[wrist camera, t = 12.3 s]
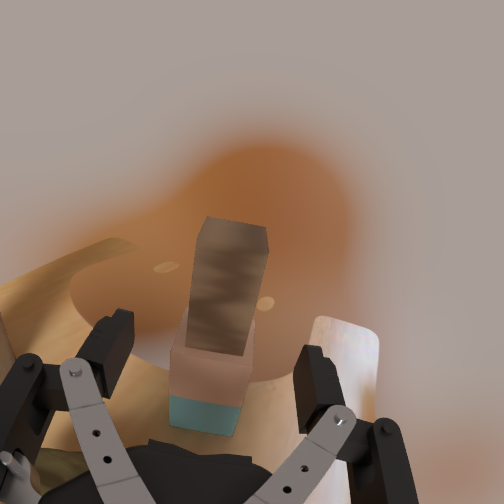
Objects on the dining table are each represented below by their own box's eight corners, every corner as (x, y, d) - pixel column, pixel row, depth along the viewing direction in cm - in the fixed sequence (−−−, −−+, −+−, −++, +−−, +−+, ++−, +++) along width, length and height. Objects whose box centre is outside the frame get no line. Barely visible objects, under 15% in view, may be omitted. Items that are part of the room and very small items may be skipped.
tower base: (169, 425, 29) (169, 394, 26) (180, 381, 35) (182, 348, 33) (232, 436, 29) (241, 407, 27) (235, 391, 35) (243, 359, 33)
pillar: (184, 346, 25) (197, 238, 21) (193, 313, 29) (206, 216, 25) (242, 356, 25) (268, 251, 21) (243, 322, 30) (265, 227, 26)
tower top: (169, 394, 26) (170, 351, 24) (182, 348, 33) (186, 305, 30) (241, 407, 27) (253, 367, 24) (244, 359, 33) (254, 318, 31)
